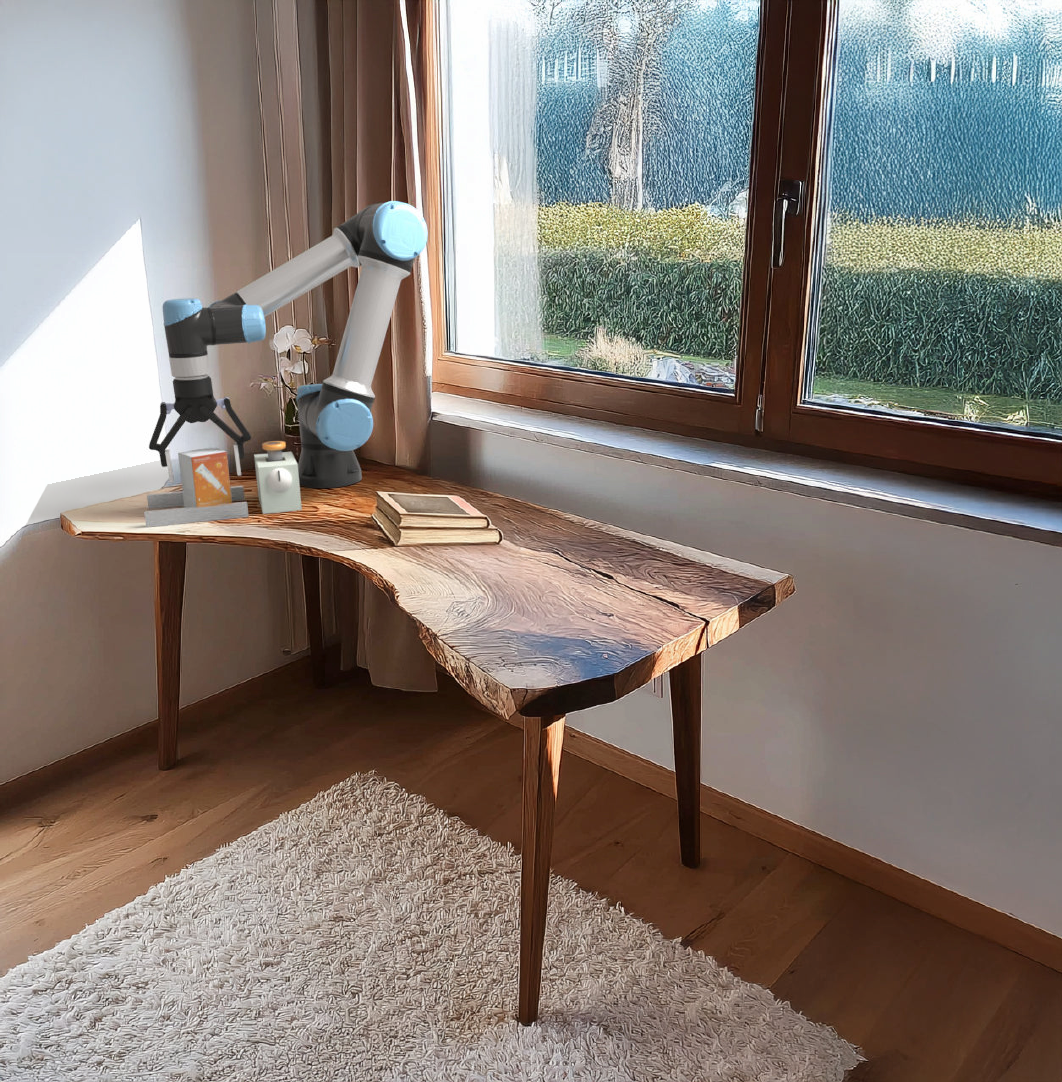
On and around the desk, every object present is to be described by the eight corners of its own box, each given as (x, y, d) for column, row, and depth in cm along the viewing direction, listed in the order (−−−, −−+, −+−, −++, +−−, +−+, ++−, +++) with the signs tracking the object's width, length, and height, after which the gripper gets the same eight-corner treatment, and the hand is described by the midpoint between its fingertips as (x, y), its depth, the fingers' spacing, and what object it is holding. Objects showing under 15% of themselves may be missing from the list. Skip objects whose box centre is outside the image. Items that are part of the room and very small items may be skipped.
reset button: (286, 467, 214) (284, 440, 212) (289, 472, 210) (286, 444, 208) (264, 469, 213) (261, 442, 211) (265, 474, 208) (263, 446, 206)
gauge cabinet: (295, 495, 221) (291, 451, 217) (302, 510, 208) (297, 464, 205) (258, 498, 218) (254, 454, 215) (263, 514, 206) (258, 468, 203)
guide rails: (244, 498, 218) (243, 485, 217) (248, 516, 204) (247, 503, 203) (148, 507, 212) (146, 494, 211) (146, 527, 198) (144, 513, 197)
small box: (197, 518, 204) (190, 457, 200) (184, 512, 209) (176, 452, 205) (233, 510, 209) (227, 450, 205) (220, 504, 214) (213, 446, 210)
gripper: (253, 369, 207) (265, 467, 214) (127, 379, 200) (143, 480, 207) (255, 374, 201) (267, 475, 207) (125, 384, 193) (142, 488, 200)
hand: (205, 477), depth 207 cm, fingers open, 13 cm apart
